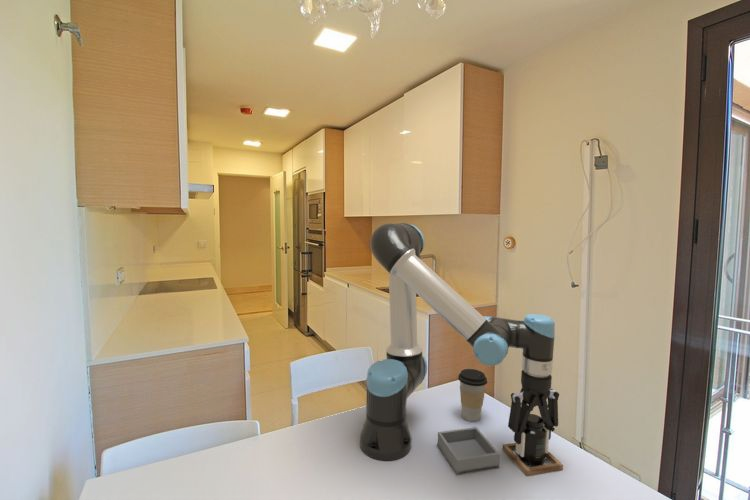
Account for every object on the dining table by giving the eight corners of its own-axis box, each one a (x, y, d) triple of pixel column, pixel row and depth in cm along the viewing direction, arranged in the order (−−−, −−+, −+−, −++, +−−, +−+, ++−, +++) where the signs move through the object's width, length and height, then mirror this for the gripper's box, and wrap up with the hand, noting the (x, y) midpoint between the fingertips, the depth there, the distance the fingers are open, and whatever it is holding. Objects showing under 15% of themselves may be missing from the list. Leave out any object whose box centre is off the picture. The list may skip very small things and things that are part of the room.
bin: (437, 445, 104) (437, 432, 104) (475, 439, 107) (476, 427, 107) (456, 474, 92) (457, 460, 92) (499, 467, 95) (499, 453, 95)
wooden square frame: (502, 449, 103) (502, 444, 102) (535, 444, 105) (535, 439, 105) (526, 476, 92) (527, 470, 92) (562, 470, 95) (563, 464, 94)
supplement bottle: (513, 452, 101) (515, 412, 100) (534, 450, 103) (536, 410, 102) (528, 469, 95) (530, 426, 93) (550, 466, 96) (553, 424, 95)
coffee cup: (486, 426, 114) (489, 381, 113) (456, 422, 116) (458, 378, 114) (484, 411, 123) (485, 369, 122) (456, 407, 125) (457, 366, 124)
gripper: (512, 381, 90) (508, 466, 92) (577, 374, 95) (572, 455, 97) (496, 369, 98) (492, 448, 100) (557, 363, 102) (552, 439, 104)
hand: (531, 451), depth 98 cm, fingers closed on supplement bottle, 7 cm apart
